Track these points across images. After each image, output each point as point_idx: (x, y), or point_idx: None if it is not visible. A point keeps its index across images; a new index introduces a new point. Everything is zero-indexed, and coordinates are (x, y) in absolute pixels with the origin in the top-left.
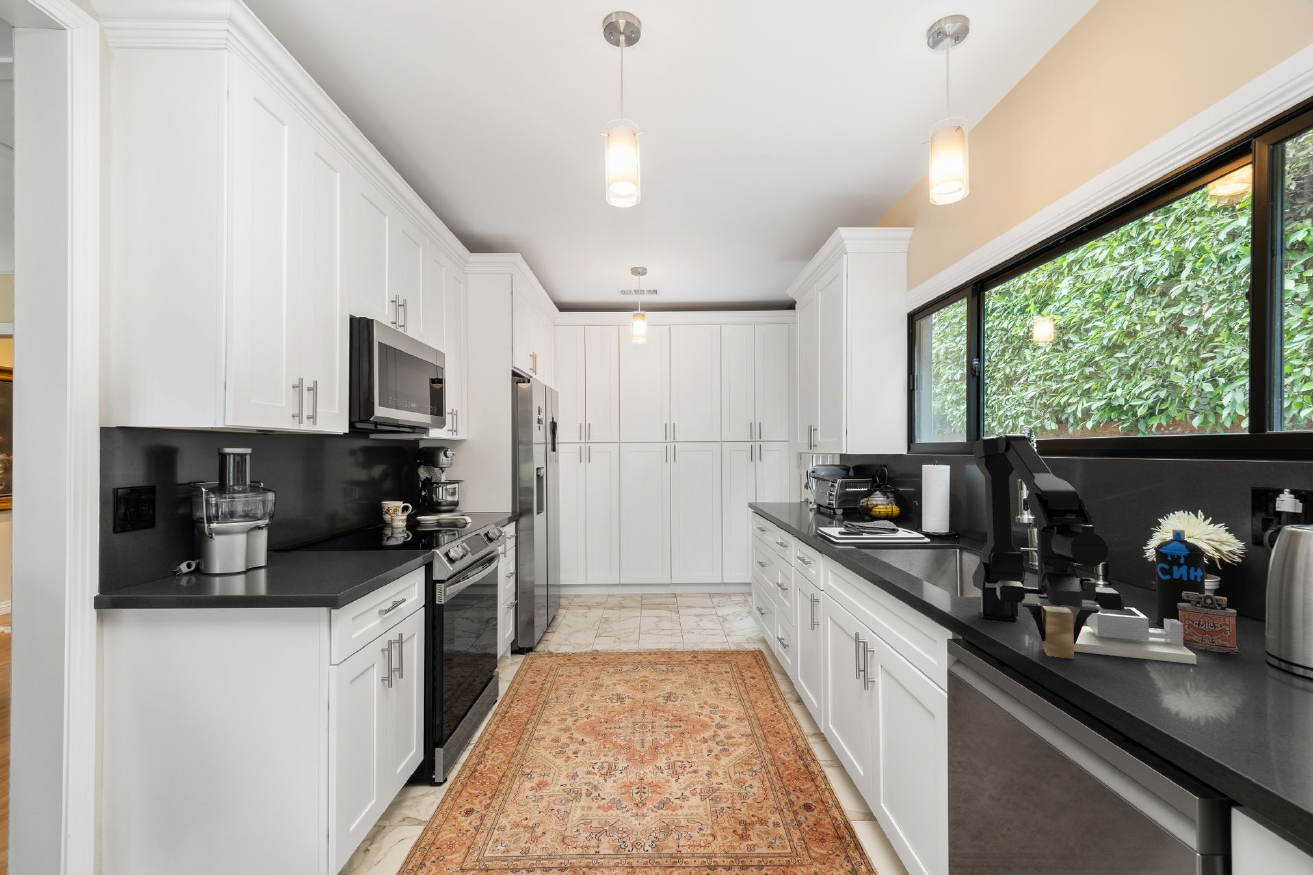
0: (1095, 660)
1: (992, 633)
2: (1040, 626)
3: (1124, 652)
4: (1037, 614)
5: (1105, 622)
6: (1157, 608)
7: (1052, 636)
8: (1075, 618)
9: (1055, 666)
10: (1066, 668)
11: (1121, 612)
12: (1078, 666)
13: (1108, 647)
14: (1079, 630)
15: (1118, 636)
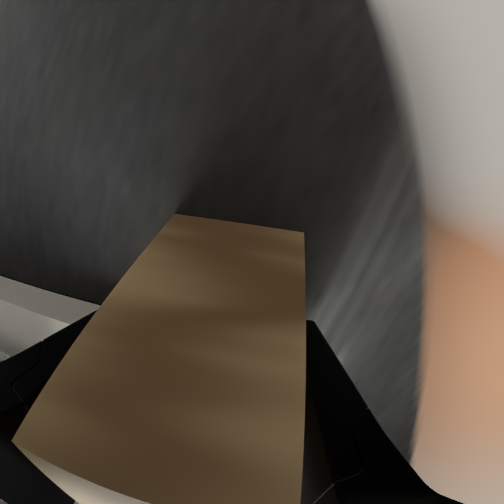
0: (90, 212)
1: (393, 433)
2: (335, 391)
3: (10, 290)
4: (378, 483)
5: None
6: None
7: (266, 300)
8: None
9: (327, 40)
10: (271, 19)
11: None
12: (187, 77)
13: (36, 309)
14: (64, 331)
15: (7, 358)
